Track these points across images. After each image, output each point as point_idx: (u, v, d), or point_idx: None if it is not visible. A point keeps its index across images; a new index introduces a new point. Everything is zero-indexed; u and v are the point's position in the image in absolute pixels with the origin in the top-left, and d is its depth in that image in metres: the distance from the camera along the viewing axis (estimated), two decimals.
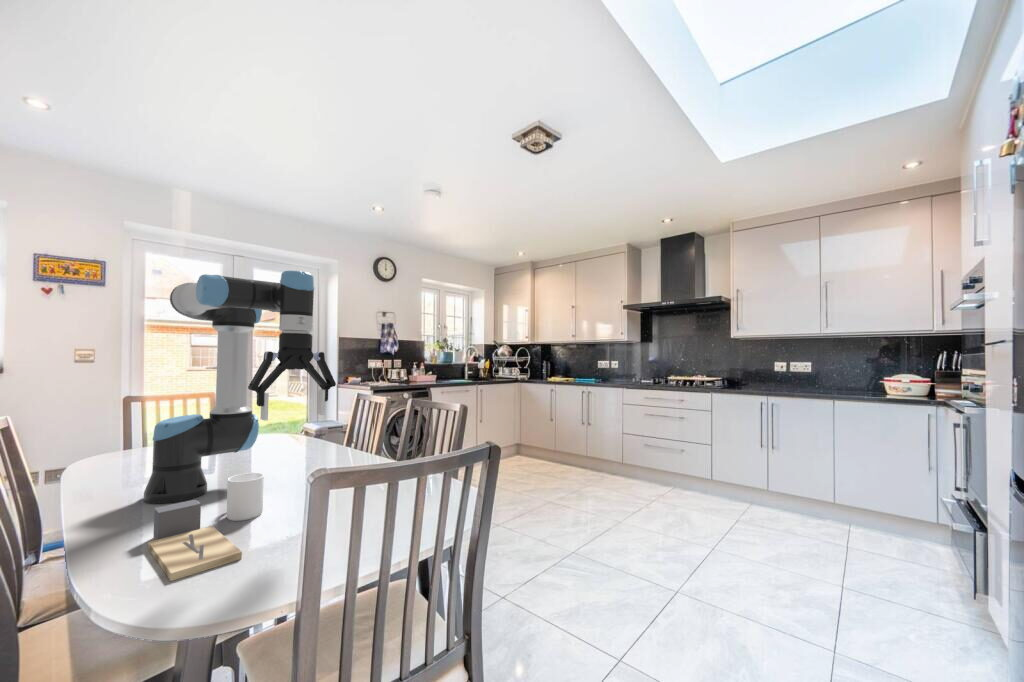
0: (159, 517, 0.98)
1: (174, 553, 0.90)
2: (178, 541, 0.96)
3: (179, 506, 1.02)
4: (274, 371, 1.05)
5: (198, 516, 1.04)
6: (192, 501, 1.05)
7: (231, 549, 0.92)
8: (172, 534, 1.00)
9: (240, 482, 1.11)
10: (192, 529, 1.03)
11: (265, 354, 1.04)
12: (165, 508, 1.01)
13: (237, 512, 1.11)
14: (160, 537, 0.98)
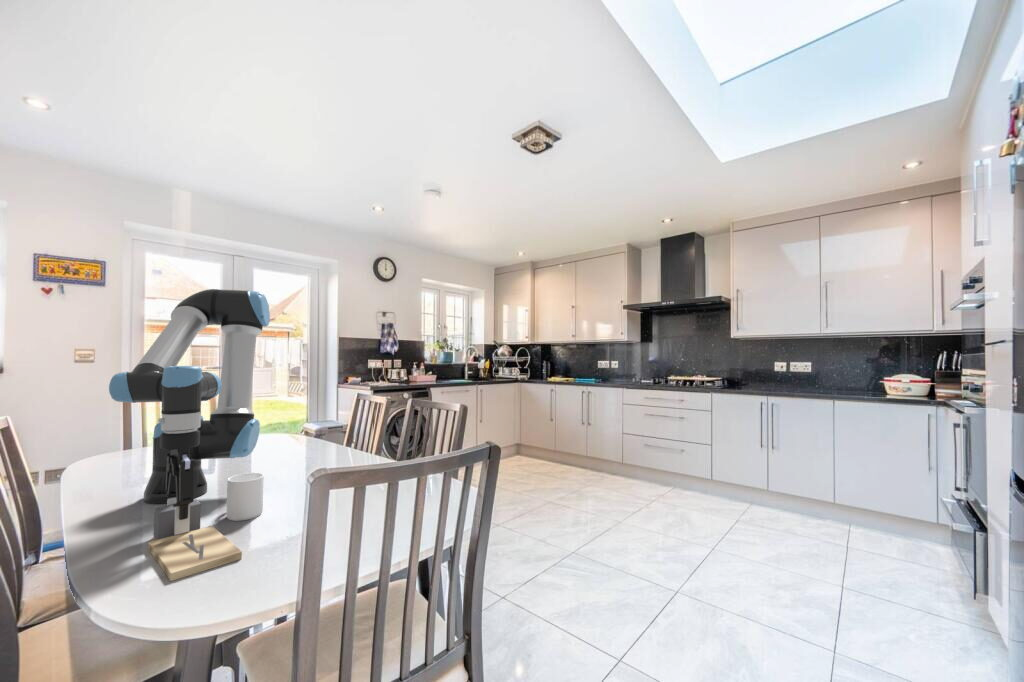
0: (159, 517, 0.98)
1: (174, 553, 0.90)
2: (178, 541, 0.96)
3: None
4: None
5: (198, 516, 1.04)
6: None
7: (231, 549, 0.92)
8: (172, 534, 1.00)
9: (240, 482, 1.11)
10: (192, 529, 1.03)
11: None
12: (165, 508, 1.01)
13: (237, 512, 1.11)
14: (160, 537, 0.98)
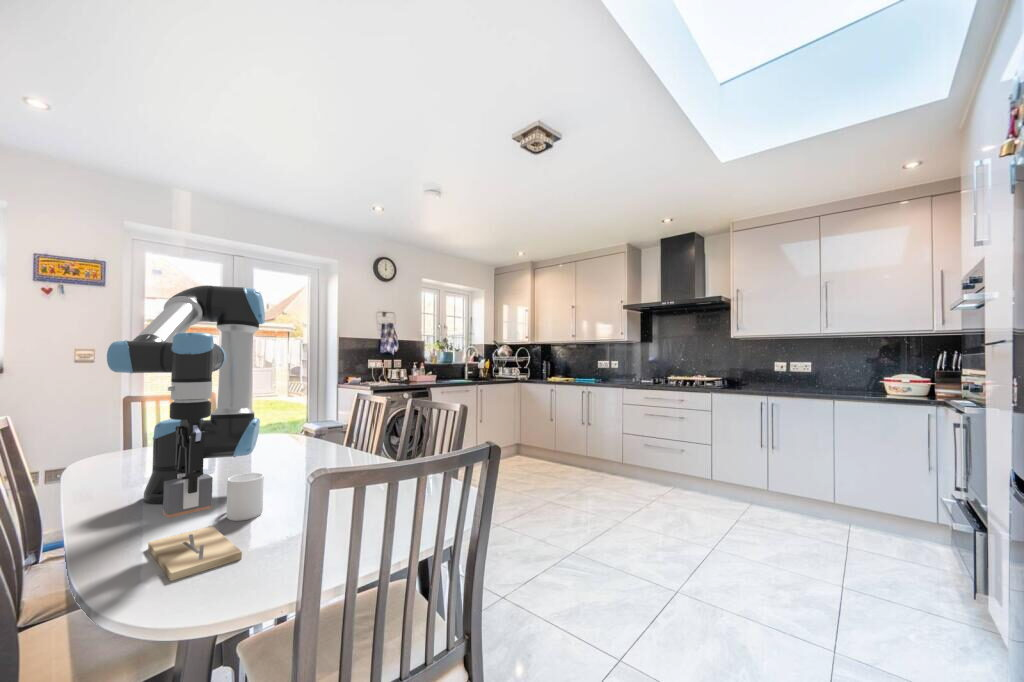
0: (169, 490, 0.93)
1: (174, 553, 0.90)
2: (178, 541, 0.96)
3: None
4: None
5: (210, 490, 0.99)
6: (203, 475, 1.00)
7: (231, 549, 0.92)
8: None
9: (240, 482, 1.11)
10: (203, 504, 0.98)
11: None
12: (176, 481, 0.96)
13: (237, 512, 1.11)
14: (170, 511, 0.93)
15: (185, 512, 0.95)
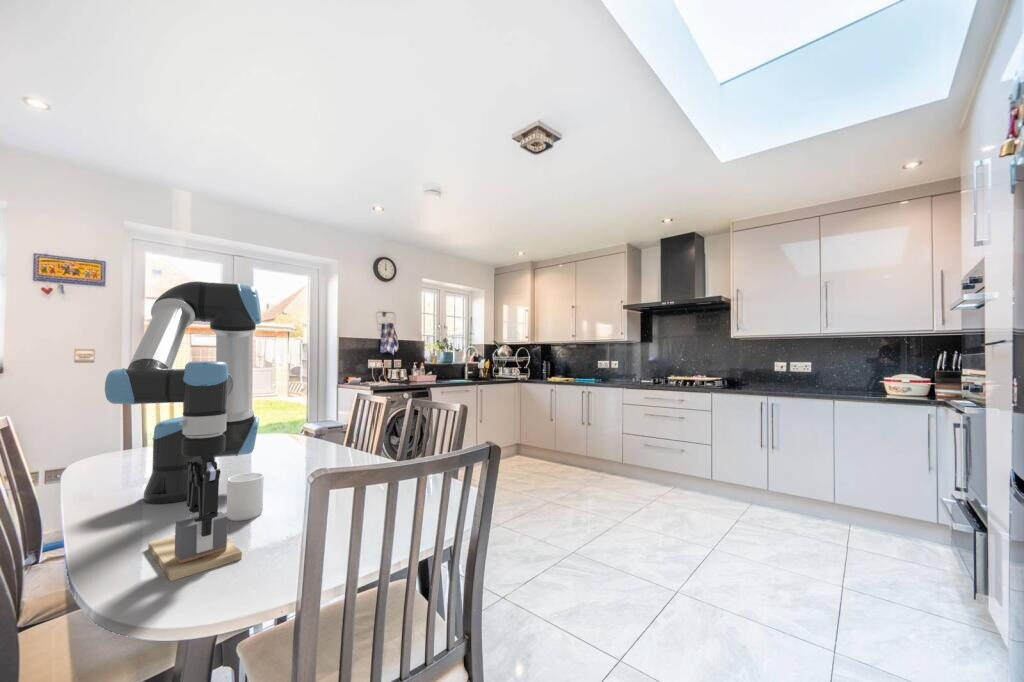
0: (182, 533, 0.86)
1: (174, 553, 0.90)
2: None
3: None
4: None
5: (224, 531, 0.92)
6: None
7: (231, 549, 0.92)
8: None
9: (240, 482, 1.11)
10: (218, 546, 0.91)
11: None
12: (188, 522, 0.89)
13: (237, 512, 1.11)
14: (183, 556, 0.86)
15: (198, 556, 0.88)
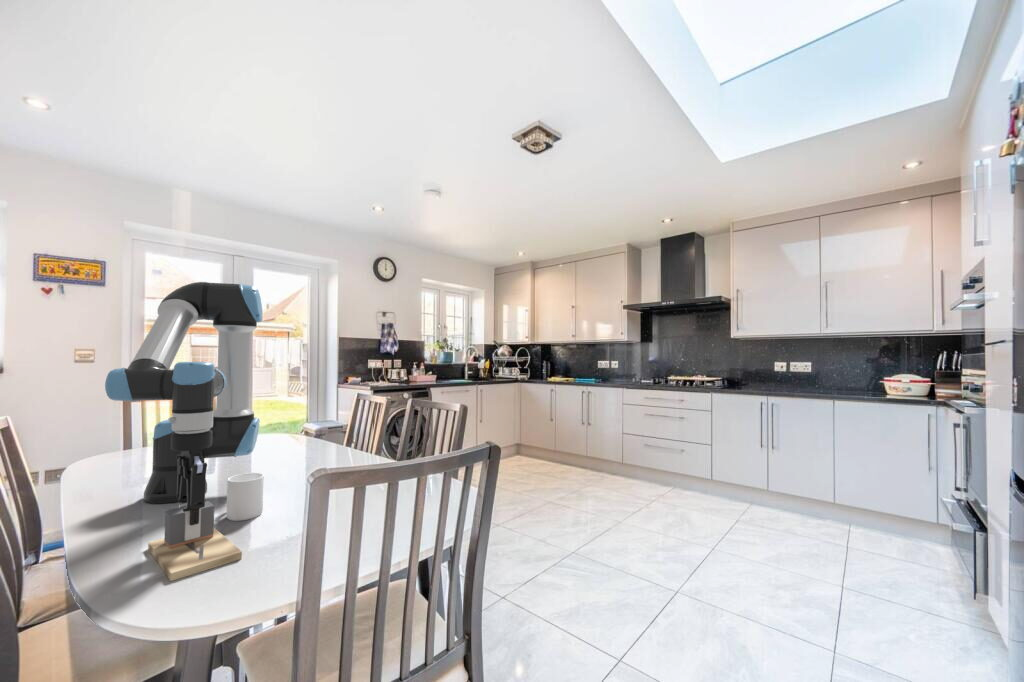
0: (171, 520, 0.92)
1: (174, 553, 0.90)
2: None
3: None
4: None
5: (211, 519, 0.98)
6: (205, 503, 1.00)
7: (231, 549, 0.92)
8: None
9: (240, 482, 1.11)
10: (205, 533, 0.97)
11: None
12: (177, 510, 0.95)
13: (237, 512, 1.11)
14: (172, 541, 0.92)
15: (187, 542, 0.94)
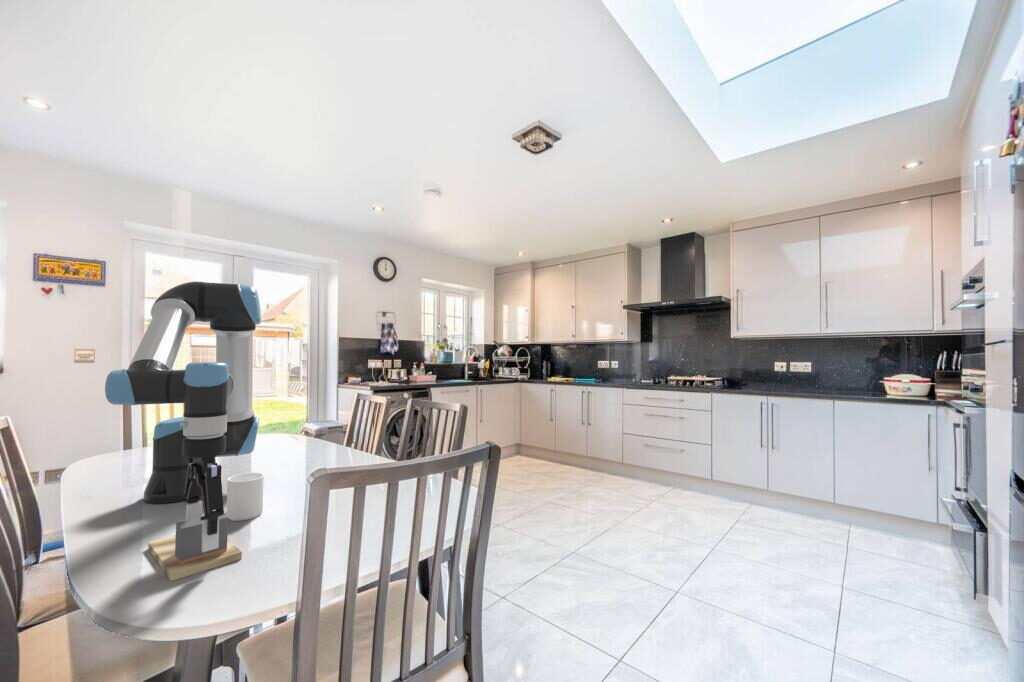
0: (182, 534, 0.86)
1: (174, 553, 0.90)
2: None
3: None
4: None
5: (225, 531, 0.91)
6: None
7: (231, 549, 0.92)
8: (196, 553, 0.88)
9: (240, 482, 1.11)
10: None
11: None
12: (188, 523, 0.89)
13: (237, 512, 1.11)
14: (183, 556, 0.86)
15: (199, 557, 0.88)
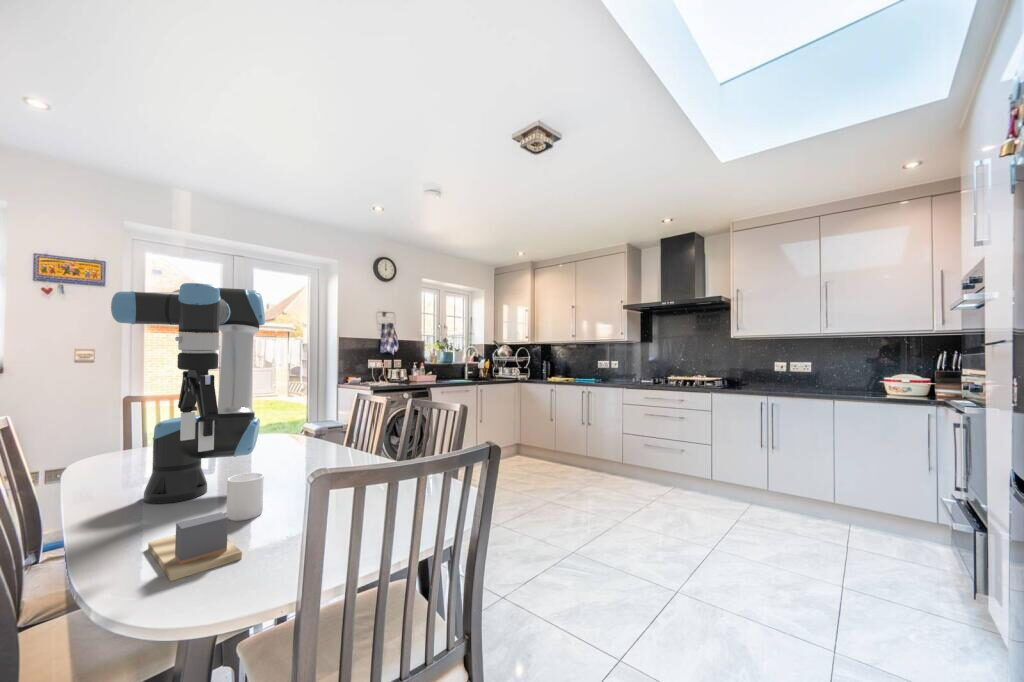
0: (182, 534, 0.86)
1: (174, 553, 0.90)
2: None
3: (204, 520, 0.90)
4: None
5: (225, 531, 0.91)
6: (218, 514, 0.93)
7: (231, 549, 0.92)
8: (196, 553, 0.88)
9: (240, 482, 1.11)
10: (218, 546, 0.91)
11: None
12: (188, 523, 0.89)
13: (237, 512, 1.11)
14: (183, 556, 0.86)
15: (199, 557, 0.88)
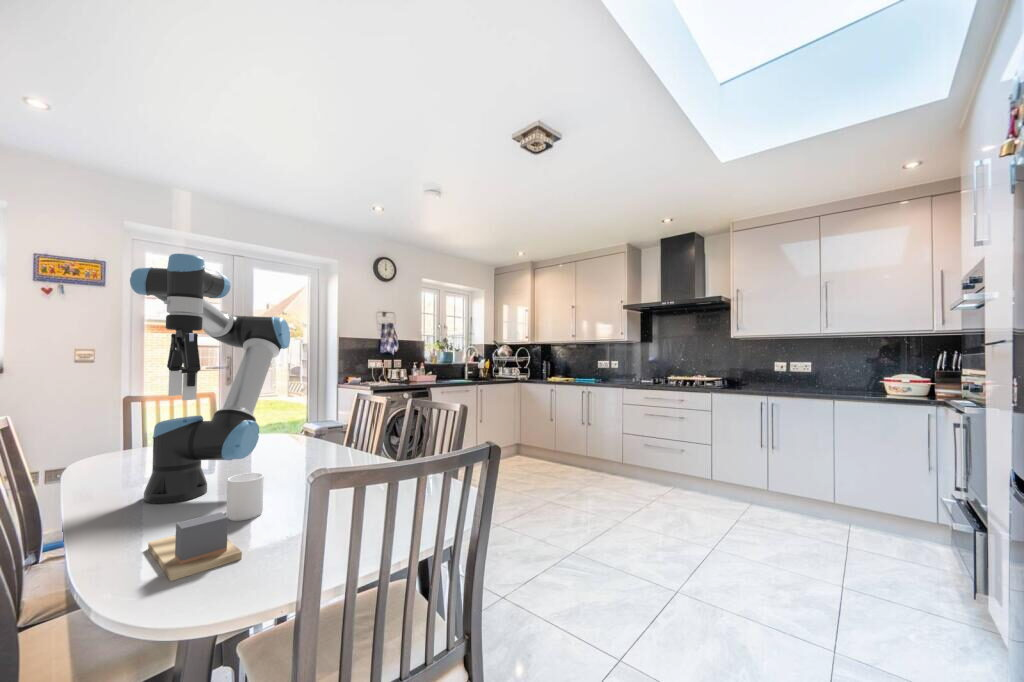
0: (182, 534, 0.86)
1: (174, 553, 0.90)
2: None
3: (204, 520, 0.90)
4: None
5: (225, 531, 0.91)
6: (218, 514, 0.93)
7: (231, 549, 0.92)
8: (196, 553, 0.88)
9: (240, 482, 1.11)
10: (218, 546, 0.91)
11: None
12: (188, 523, 0.89)
13: (237, 512, 1.11)
14: (183, 556, 0.86)
15: (199, 557, 0.88)
